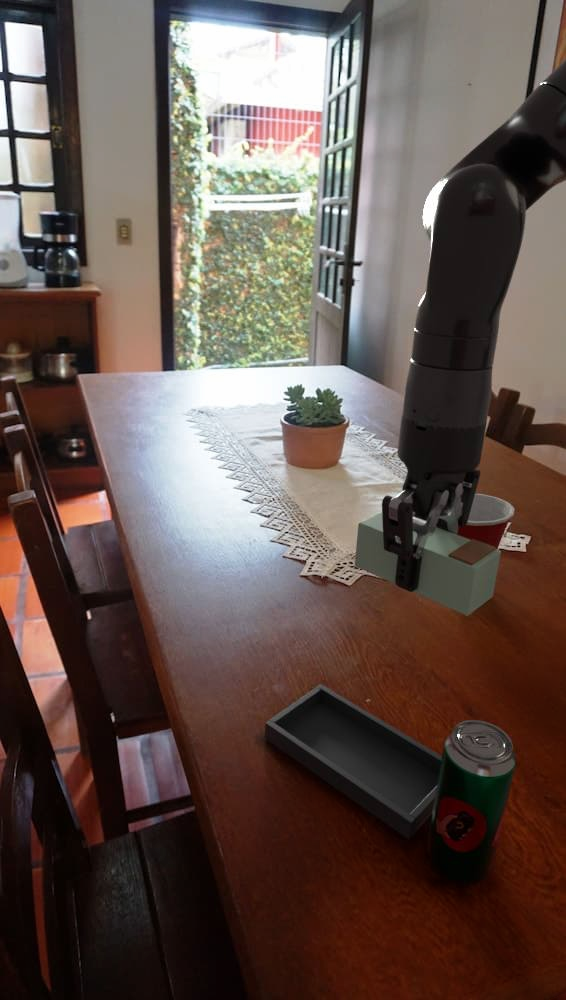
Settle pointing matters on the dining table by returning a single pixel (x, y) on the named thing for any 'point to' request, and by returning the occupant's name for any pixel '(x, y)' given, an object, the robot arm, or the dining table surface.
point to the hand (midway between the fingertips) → (421, 577)
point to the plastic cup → (487, 520)
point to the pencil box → (435, 565)
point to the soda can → (470, 801)
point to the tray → (360, 757)
